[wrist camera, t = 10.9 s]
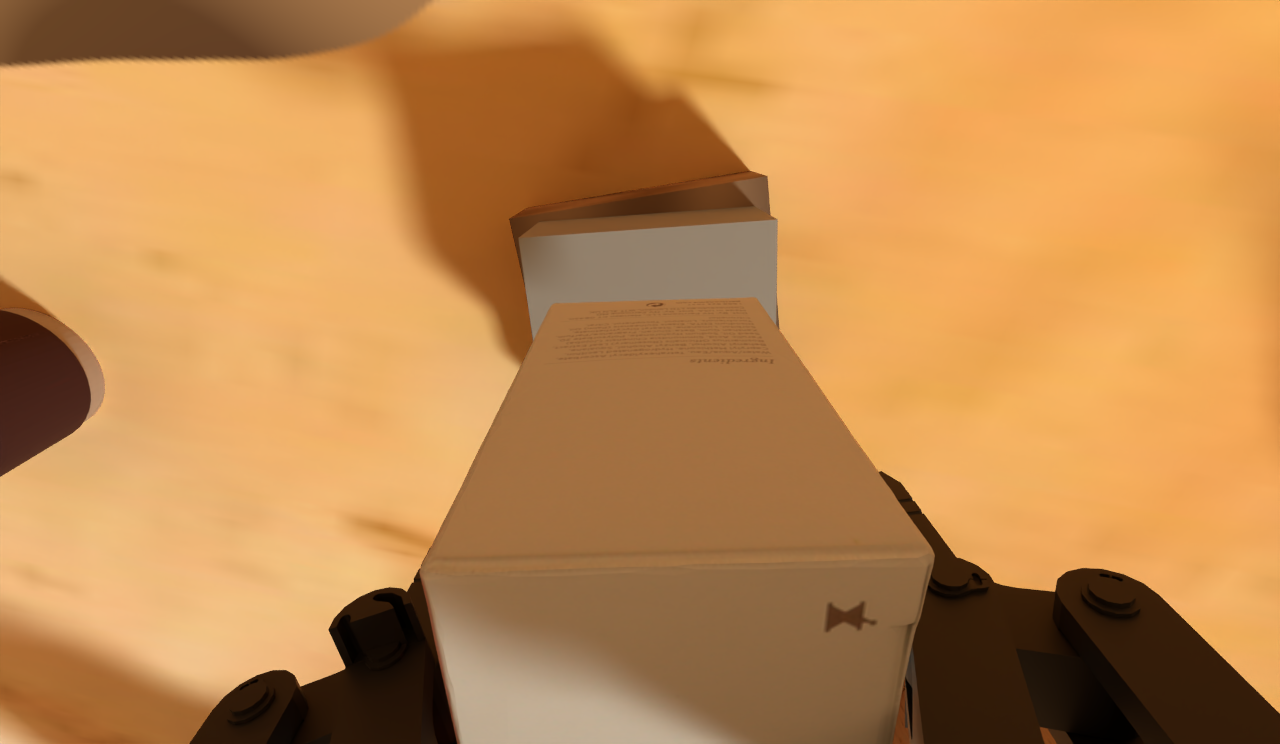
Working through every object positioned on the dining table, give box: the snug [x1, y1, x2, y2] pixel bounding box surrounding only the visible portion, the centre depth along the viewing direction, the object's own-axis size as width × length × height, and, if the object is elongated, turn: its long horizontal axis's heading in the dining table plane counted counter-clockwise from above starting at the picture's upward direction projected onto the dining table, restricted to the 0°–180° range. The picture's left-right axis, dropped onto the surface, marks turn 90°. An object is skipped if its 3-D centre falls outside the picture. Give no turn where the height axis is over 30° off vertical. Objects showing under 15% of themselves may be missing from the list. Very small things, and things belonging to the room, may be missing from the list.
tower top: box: [518, 206, 777, 341], centre depth 27 cm, size 10×10×5 cm
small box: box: [419, 297, 935, 744], centre depth 12 cm, size 8×6×10 cm
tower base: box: [509, 171, 779, 329], centre depth 32 cm, size 12×12×5 cm
